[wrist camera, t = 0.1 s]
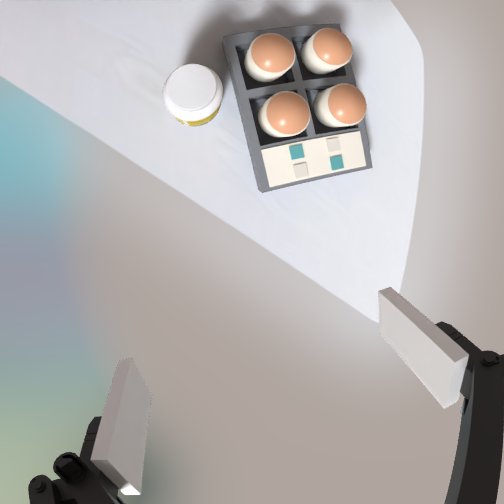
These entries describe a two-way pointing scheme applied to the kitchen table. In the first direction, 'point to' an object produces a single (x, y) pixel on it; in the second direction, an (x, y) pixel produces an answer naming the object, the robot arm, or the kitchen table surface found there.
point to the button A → (269, 57)
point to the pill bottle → (193, 94)
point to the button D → (340, 106)
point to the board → (309, 144)
